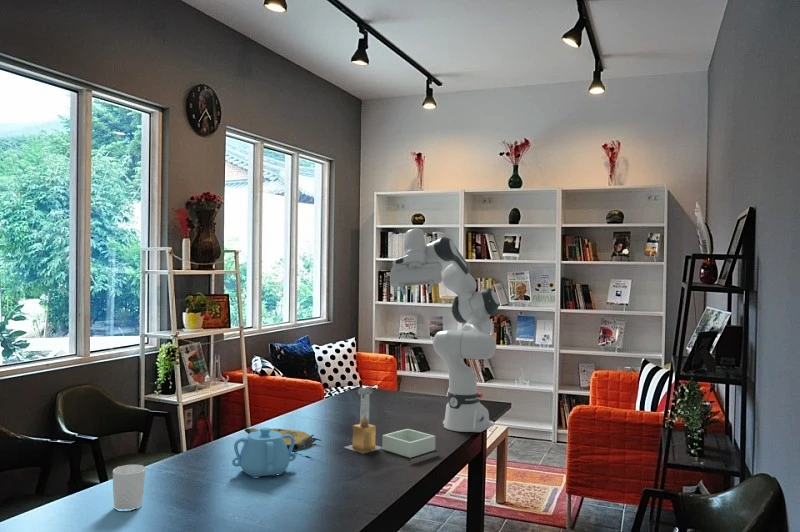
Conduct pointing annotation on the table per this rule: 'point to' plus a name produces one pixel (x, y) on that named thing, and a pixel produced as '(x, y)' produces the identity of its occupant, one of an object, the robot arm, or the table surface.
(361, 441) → the strut
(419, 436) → the bin
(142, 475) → the white cup
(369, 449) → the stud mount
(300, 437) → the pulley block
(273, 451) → the decorative pot
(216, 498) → the table surface
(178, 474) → the table surface
